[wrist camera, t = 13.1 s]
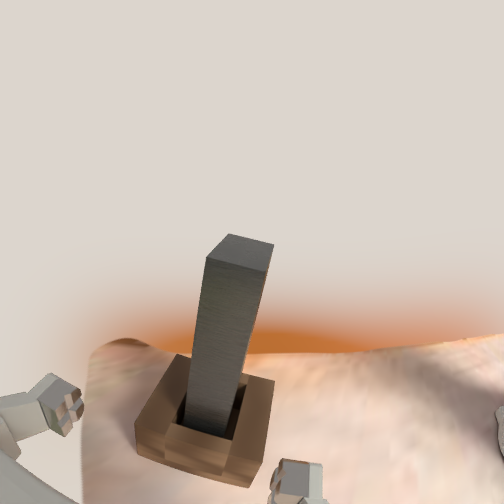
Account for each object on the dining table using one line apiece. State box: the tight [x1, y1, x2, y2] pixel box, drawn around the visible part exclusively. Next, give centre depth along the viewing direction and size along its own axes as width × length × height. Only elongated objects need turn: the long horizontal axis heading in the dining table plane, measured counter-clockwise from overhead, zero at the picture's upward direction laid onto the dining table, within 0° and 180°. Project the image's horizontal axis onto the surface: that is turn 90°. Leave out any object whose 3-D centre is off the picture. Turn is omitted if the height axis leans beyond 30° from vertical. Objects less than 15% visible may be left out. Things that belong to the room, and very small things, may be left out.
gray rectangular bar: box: [183, 234, 274, 438], centre depth 20 cm, size 3×5×16 cm, turn 171°
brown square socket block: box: [134, 354, 275, 488], centre depth 22 cm, size 9×9×4 cm
